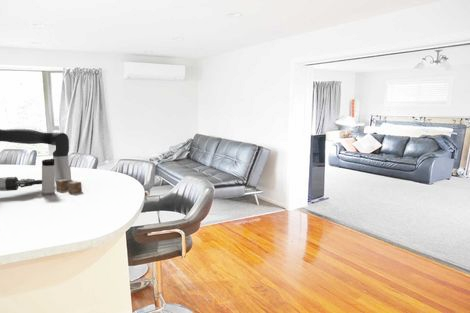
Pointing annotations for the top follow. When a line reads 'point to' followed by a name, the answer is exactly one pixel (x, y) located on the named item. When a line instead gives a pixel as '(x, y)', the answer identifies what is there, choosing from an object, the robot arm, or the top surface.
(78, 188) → the walnut block one
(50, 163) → the travel mug
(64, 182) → the walnut block two
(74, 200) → the top surface
